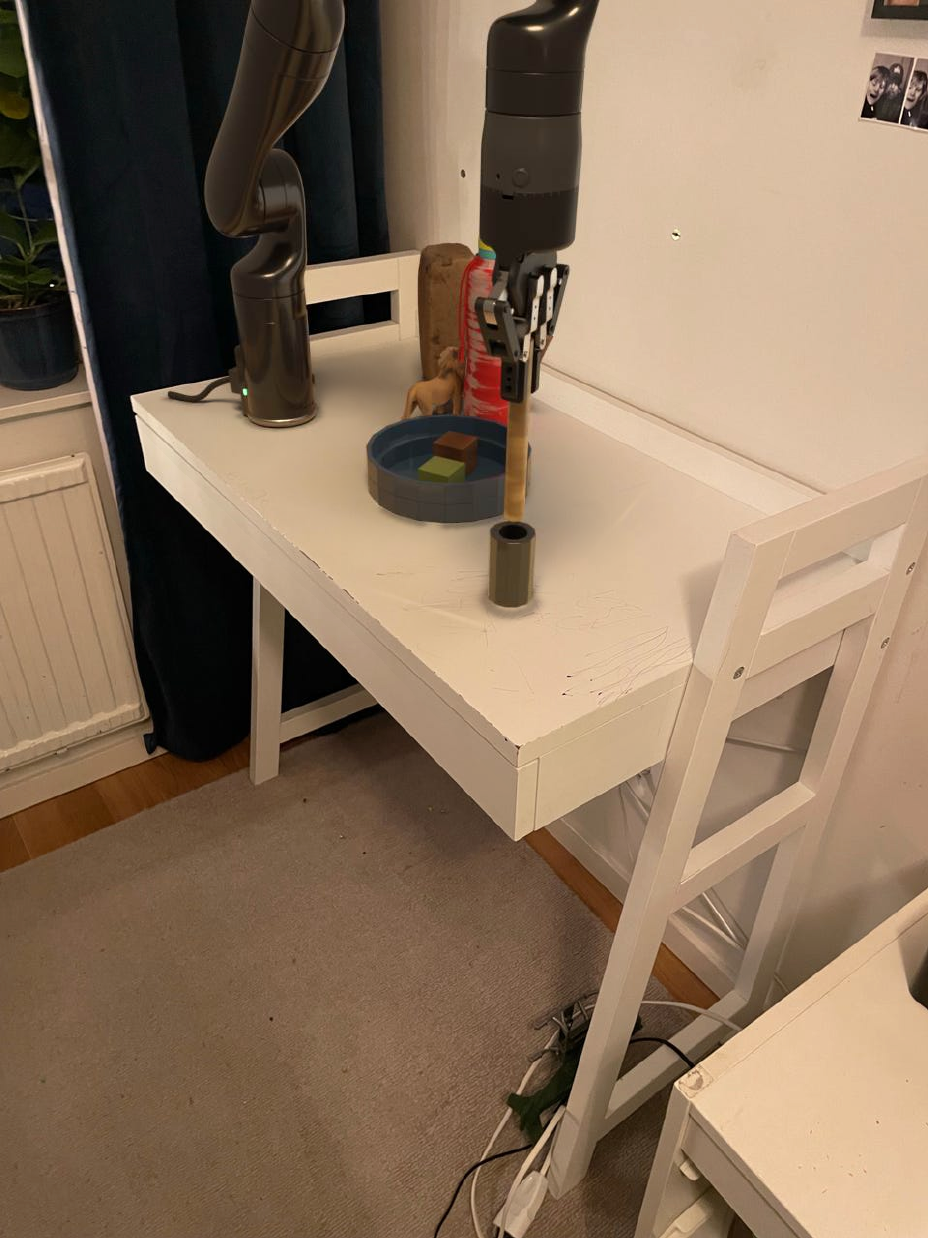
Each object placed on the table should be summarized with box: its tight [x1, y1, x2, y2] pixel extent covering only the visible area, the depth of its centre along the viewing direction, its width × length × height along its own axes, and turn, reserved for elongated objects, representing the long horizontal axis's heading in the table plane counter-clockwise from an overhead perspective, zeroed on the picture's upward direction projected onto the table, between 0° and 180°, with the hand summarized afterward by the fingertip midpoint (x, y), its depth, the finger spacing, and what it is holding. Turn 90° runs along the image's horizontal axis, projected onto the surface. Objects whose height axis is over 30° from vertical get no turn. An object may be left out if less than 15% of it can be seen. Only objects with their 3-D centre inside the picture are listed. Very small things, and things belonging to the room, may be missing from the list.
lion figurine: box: [400, 347, 466, 421], centre depth 125 cm, size 15×5×9 cm, turn 153°
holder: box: [487, 520, 537, 609], centre depth 91 cm, size 4×4×8 cm
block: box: [417, 242, 475, 398], centre depth 133 cm, size 11×8×20 cm
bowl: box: [365, 413, 533, 524], centre depth 111 cm, size 19×19×6 cm
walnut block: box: [433, 431, 478, 477], centre depth 114 cm, size 4×4×4 cm
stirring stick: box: [503, 335, 534, 522], centre depth 83 cm, size 2×2×17 cm
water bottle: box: [458, 236, 554, 425], centre depth 121 cm, size 12×8×25 cm, turn 101°
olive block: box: [418, 456, 465, 483], centre depth 108 cm, size 4×4×4 cm
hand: (519, 394), depth 81 cm, fingers closed on stirring stick, 2 cm apart
